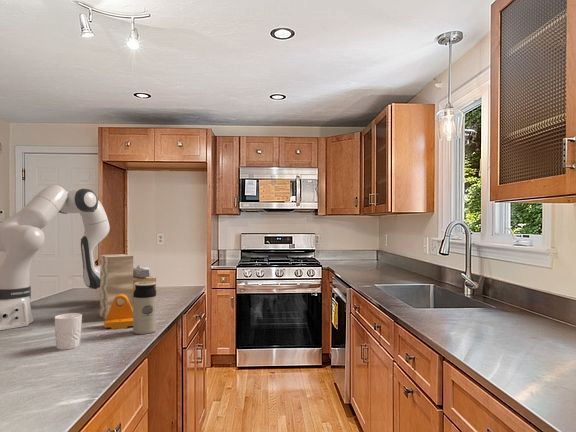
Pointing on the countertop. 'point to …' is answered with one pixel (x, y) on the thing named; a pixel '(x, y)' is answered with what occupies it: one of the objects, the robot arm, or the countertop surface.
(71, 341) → the white cup
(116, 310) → the bracket
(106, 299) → the step stand
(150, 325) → the travel mug
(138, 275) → the block
